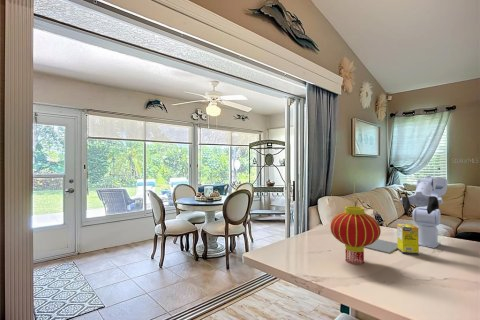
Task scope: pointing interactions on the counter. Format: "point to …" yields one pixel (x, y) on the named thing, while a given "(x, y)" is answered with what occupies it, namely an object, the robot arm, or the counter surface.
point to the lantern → (355, 231)
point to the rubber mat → (383, 246)
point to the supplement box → (408, 239)
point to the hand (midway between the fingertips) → (416, 211)
